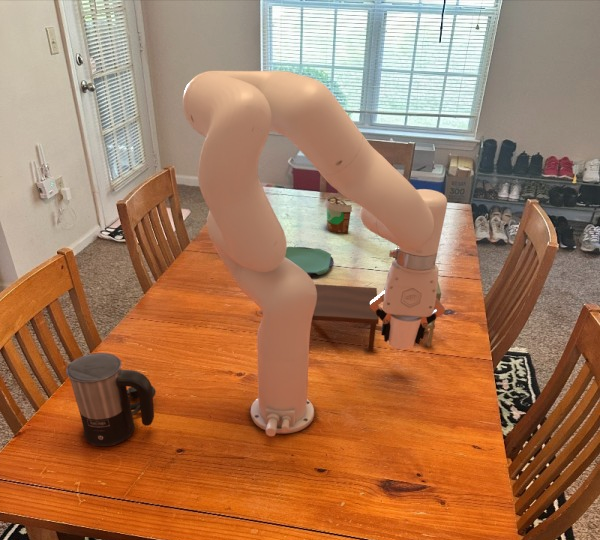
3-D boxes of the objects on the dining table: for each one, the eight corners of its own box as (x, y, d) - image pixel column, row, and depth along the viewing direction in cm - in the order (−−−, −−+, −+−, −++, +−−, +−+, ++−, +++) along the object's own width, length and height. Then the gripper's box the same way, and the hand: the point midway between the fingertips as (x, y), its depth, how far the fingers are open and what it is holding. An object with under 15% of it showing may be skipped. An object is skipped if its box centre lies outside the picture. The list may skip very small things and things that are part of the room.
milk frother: (82, 451, 103) (64, 384, 94) (83, 400, 114) (67, 337, 106) (162, 438, 106) (152, 373, 97) (155, 390, 118) (145, 328, 109)
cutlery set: (331, 282, 161) (331, 275, 160) (227, 274, 164) (227, 267, 162) (335, 255, 177) (336, 248, 176) (241, 248, 179) (241, 241, 178)
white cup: (379, 345, 119) (384, 315, 114) (391, 331, 124) (395, 302, 119) (410, 354, 116) (416, 324, 112) (421, 340, 121) (427, 310, 117)
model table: (374, 353, 132) (378, 319, 126) (297, 348, 133) (298, 314, 127) (372, 320, 145) (376, 287, 139) (302, 315, 145) (303, 283, 140)
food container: (317, 225, 198) (318, 196, 192) (333, 223, 200) (334, 194, 194) (333, 237, 189) (335, 207, 183) (349, 235, 191) (352, 205, 185)
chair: (430, 347, 134) (441, 293, 126) (401, 345, 135) (409, 291, 126) (427, 330, 141) (437, 278, 132) (399, 328, 141) (407, 276, 133)
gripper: (371, 262, 106) (360, 345, 117) (464, 269, 106) (444, 352, 116) (370, 247, 112) (360, 327, 123) (458, 254, 112) (439, 334, 122)
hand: (401, 338), depth 119 cm, fingers closed on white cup, 5 cm apart
